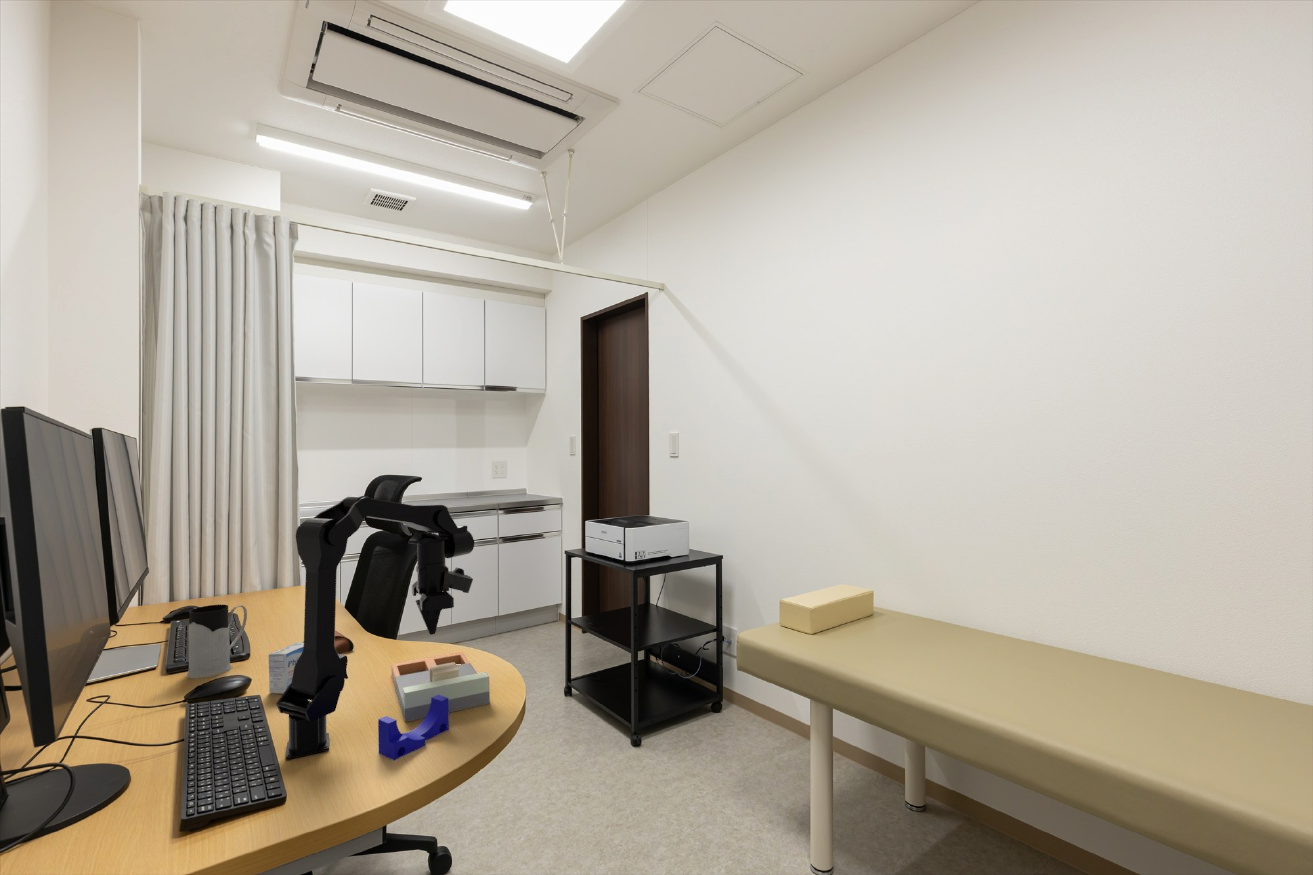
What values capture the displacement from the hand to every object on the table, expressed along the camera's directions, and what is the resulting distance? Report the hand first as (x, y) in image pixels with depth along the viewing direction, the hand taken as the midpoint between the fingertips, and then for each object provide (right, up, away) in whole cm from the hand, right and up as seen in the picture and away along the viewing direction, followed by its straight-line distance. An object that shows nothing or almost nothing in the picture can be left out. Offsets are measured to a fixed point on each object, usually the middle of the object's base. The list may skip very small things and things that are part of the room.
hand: (432, 633), depth 131 cm
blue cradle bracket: (+6, -12, -24) cm, 28 cm away
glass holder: (-58, -14, +16) cm, 61 cm away
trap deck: (+1, -12, 0) cm, 12 cm away
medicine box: (-32, -13, +2) cm, 35 cm away
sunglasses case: (-39, -14, +30) cm, 51 cm away
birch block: (+5, -9, -6) cm, 12 cm away
